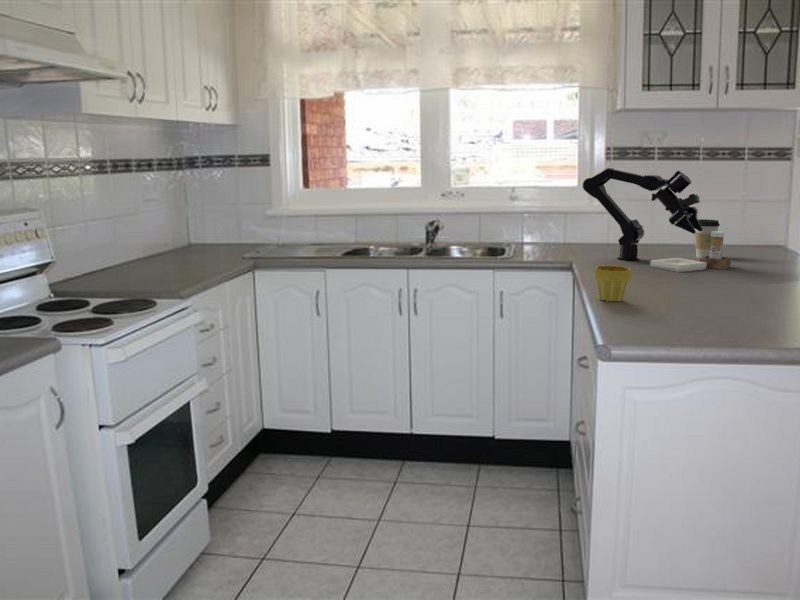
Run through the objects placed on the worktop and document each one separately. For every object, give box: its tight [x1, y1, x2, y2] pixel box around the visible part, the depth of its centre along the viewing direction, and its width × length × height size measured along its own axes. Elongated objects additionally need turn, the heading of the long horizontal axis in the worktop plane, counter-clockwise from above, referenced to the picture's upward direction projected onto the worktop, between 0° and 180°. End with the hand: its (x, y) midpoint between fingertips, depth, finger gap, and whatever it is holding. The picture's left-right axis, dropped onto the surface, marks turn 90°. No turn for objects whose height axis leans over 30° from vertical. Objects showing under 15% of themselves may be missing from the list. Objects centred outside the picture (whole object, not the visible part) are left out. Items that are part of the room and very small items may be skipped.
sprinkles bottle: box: [709, 230, 725, 260], centre depth 291 cm, size 5×5×14 cm
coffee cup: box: [694, 218, 721, 259], centre depth 316 cm, size 10×10×15 cm
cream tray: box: [649, 257, 707, 273], centre depth 290 cm, size 14×14×2 cm
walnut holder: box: [699, 255, 732, 271], centre depth 292 cm, size 9×9×4 cm
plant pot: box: [594, 264, 632, 302], centre depth 232 cm, size 10×10×10 cm
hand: (698, 231), depth 294 cm, fingers open, 9 cm apart
